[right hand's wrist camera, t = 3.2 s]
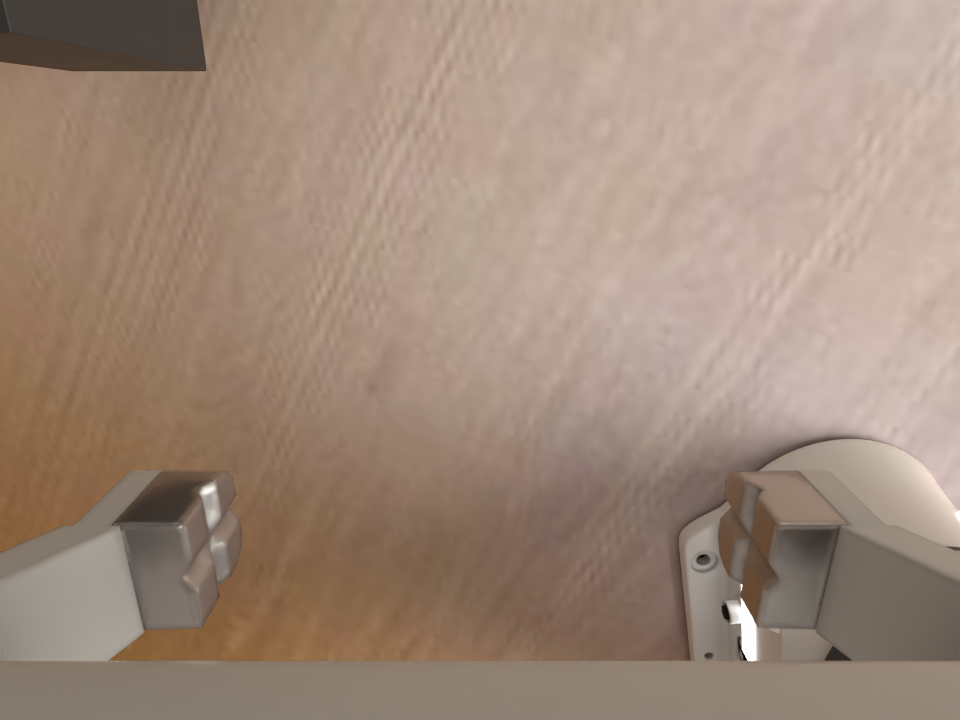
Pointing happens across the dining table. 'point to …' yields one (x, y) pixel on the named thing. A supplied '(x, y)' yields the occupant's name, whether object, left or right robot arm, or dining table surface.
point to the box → (102, 35)
